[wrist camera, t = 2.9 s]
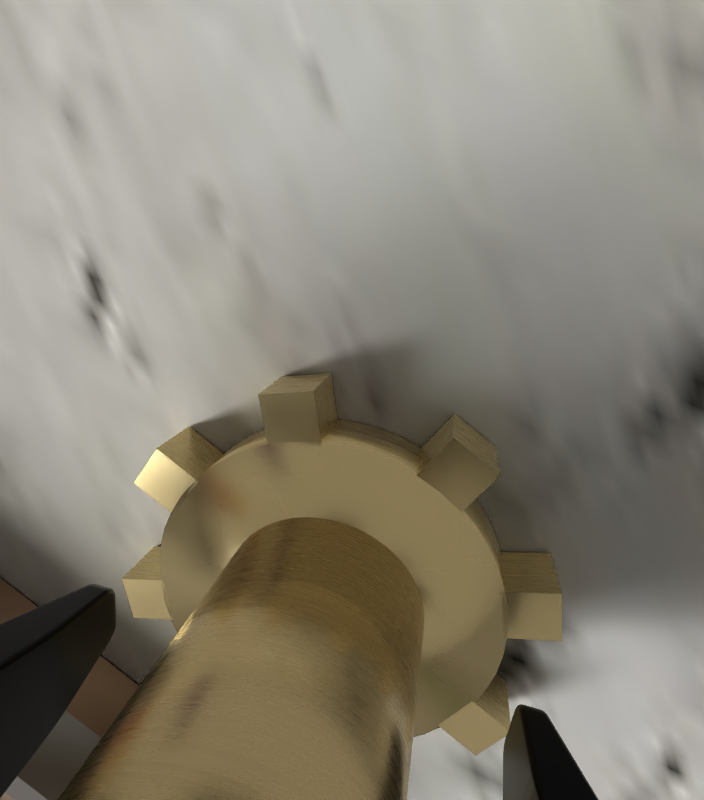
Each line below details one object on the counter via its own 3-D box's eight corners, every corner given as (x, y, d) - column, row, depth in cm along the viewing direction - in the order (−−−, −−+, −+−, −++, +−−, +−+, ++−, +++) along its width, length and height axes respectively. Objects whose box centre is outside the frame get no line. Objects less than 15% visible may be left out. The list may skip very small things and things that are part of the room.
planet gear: (653, 577, 9) (1028, 1251, 3) (368, 778, 13) (276, 1306, 6) (290, 278, 9) (-85, 368, 3) (94, 562, 12) (-282, 896, 6)
